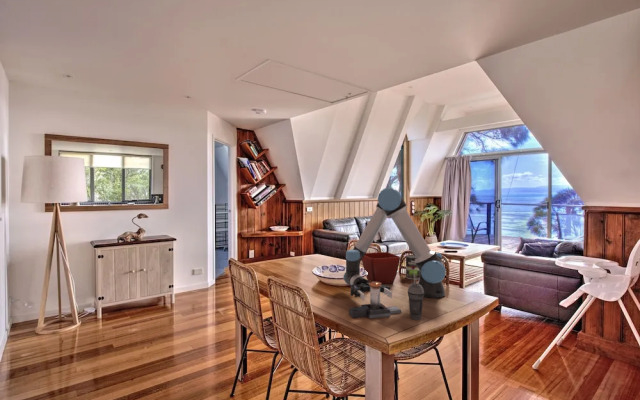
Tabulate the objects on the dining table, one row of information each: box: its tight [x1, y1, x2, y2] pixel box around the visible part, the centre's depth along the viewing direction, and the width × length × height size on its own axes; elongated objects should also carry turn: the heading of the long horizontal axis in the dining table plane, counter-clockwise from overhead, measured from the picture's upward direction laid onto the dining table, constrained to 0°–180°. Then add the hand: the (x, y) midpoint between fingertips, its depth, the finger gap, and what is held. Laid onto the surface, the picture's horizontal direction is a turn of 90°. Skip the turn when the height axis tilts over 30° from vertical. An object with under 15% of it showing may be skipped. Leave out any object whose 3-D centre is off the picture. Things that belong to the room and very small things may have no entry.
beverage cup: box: [407, 273, 425, 321], centre depth 150 cm, size 7×7×20 cm
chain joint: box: [348, 302, 402, 319], centre depth 156 cm, size 24×10×3 cm, turn 106°
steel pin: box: [369, 281, 382, 310], centre depth 156 cm, size 6×6×14 cm
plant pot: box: [361, 251, 401, 285], centre depth 211 cm, size 19×19×17 cm
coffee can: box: [405, 254, 420, 281], centre depth 220 cm, size 10×10×14 cm
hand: (377, 296), depth 153 cm, fingers open, 13 cm apart
